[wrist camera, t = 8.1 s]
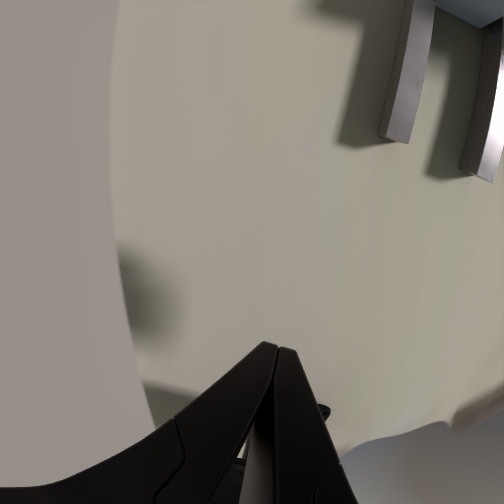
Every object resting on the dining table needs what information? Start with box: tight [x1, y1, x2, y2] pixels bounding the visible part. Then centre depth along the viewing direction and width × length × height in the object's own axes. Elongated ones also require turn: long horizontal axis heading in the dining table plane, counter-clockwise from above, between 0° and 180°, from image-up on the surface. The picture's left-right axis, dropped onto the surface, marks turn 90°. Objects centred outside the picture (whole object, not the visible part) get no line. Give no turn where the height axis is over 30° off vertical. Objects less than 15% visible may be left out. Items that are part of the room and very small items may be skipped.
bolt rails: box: [377, 0, 504, 183], centre depth 11 cm, size 12×7×2 cm, turn 167°
